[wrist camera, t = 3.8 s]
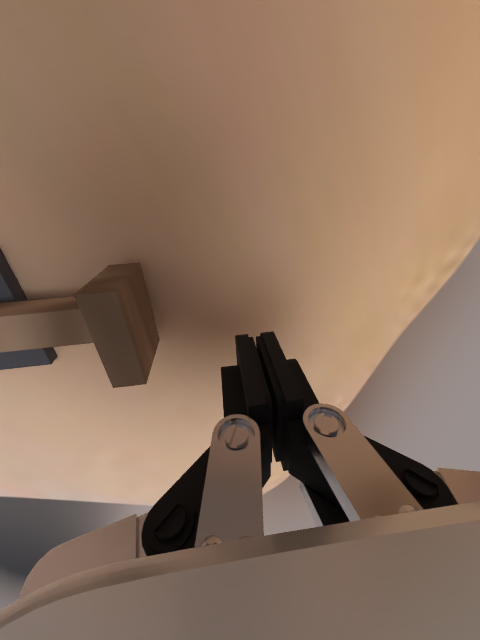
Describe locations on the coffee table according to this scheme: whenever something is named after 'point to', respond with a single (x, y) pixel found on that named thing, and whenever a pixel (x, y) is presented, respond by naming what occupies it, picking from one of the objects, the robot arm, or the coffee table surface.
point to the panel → (6, 289)
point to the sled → (92, 323)
